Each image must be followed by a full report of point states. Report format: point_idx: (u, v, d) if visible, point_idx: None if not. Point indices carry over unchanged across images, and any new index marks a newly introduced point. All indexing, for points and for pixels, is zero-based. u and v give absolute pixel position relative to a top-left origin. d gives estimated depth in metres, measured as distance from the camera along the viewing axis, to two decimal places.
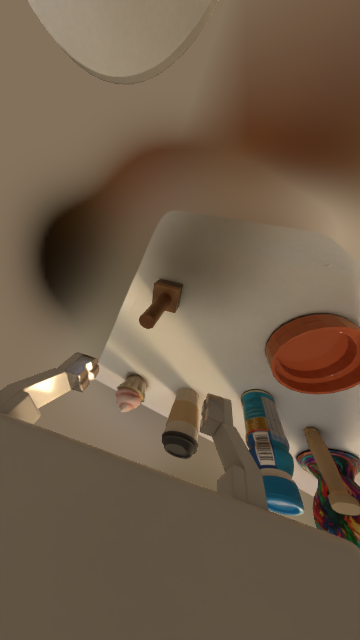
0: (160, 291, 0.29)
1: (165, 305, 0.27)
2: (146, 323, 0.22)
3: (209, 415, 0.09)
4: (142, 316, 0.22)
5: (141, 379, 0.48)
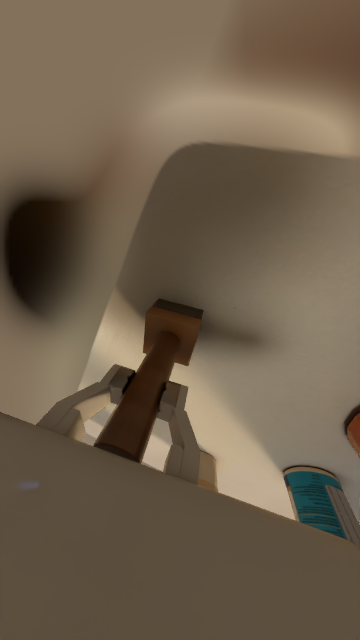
0: (160, 327, 0.14)
1: (170, 368, 0.12)
2: None
3: (162, 400, 0.09)
4: (100, 446, 0.07)
5: None
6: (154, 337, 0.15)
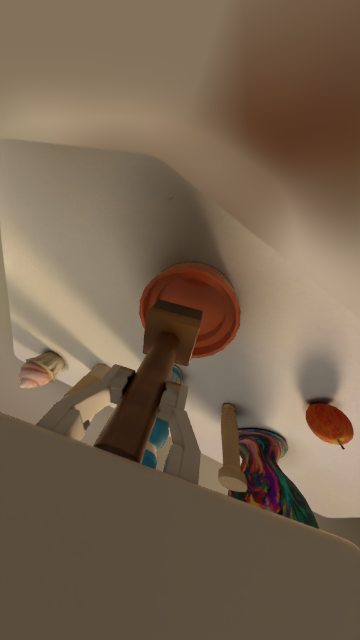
0: (159, 327, 0.14)
1: (170, 368, 0.12)
2: None
3: (162, 400, 0.09)
4: (100, 447, 0.07)
5: (55, 355, 0.45)
6: (154, 338, 0.15)
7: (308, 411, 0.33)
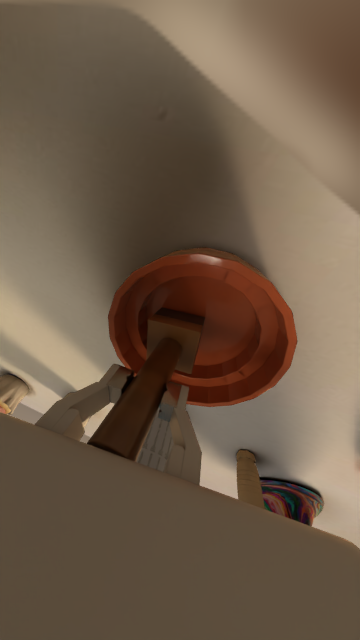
0: (161, 333, 0.14)
1: (170, 372, 0.11)
2: None
3: (163, 400, 0.09)
4: (92, 445, 0.07)
5: (14, 380, 0.34)
6: (156, 344, 0.15)
7: None
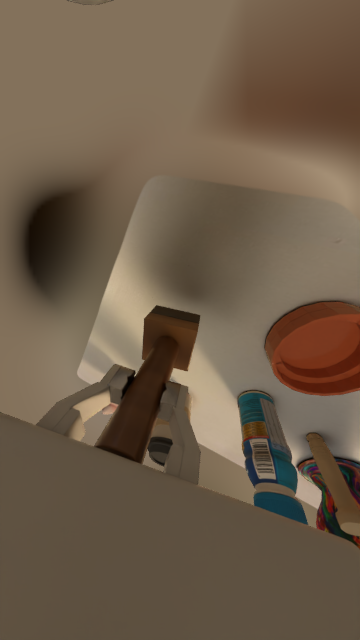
0: (158, 332, 0.14)
1: (169, 371, 0.12)
2: None
3: (162, 400, 0.09)
4: None
5: None
6: (153, 343, 0.15)
7: None
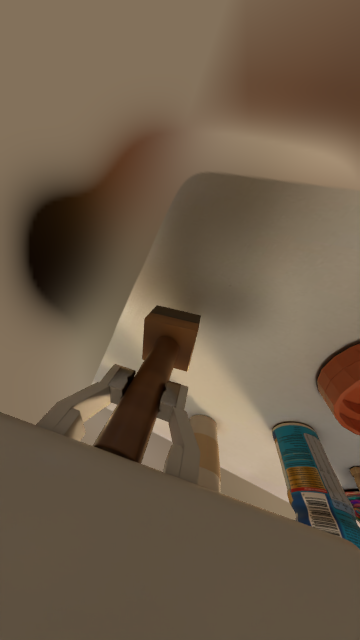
0: (158, 332, 0.14)
1: (169, 371, 0.12)
2: None
3: (162, 400, 0.09)
4: None
5: None
6: (153, 343, 0.15)
7: None
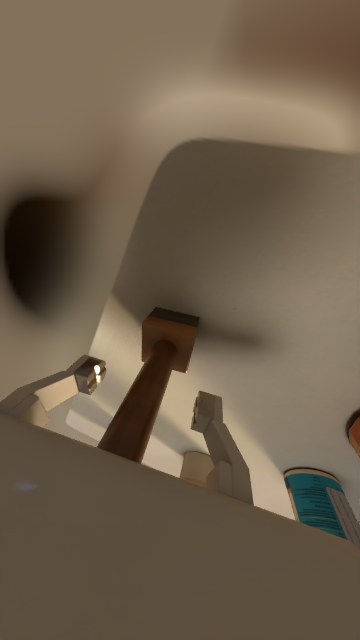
0: (156, 336, 0.14)
1: (167, 378, 0.12)
2: None
3: (199, 412, 0.09)
4: None
5: None
6: (151, 346, 0.15)
7: None
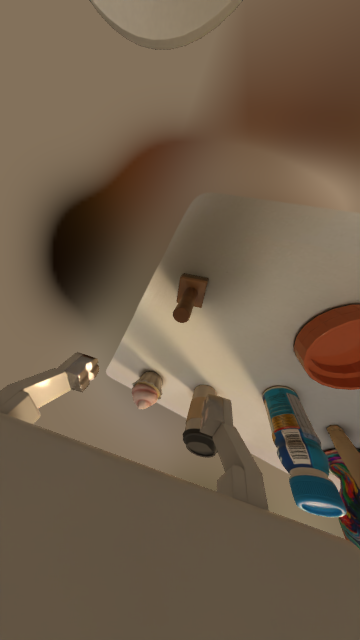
0: (187, 285, 0.28)
1: (194, 299, 0.26)
2: (180, 317, 0.21)
3: (209, 415, 0.09)
4: (177, 309, 0.21)
5: (157, 375, 0.47)
6: (183, 291, 0.29)
7: None
